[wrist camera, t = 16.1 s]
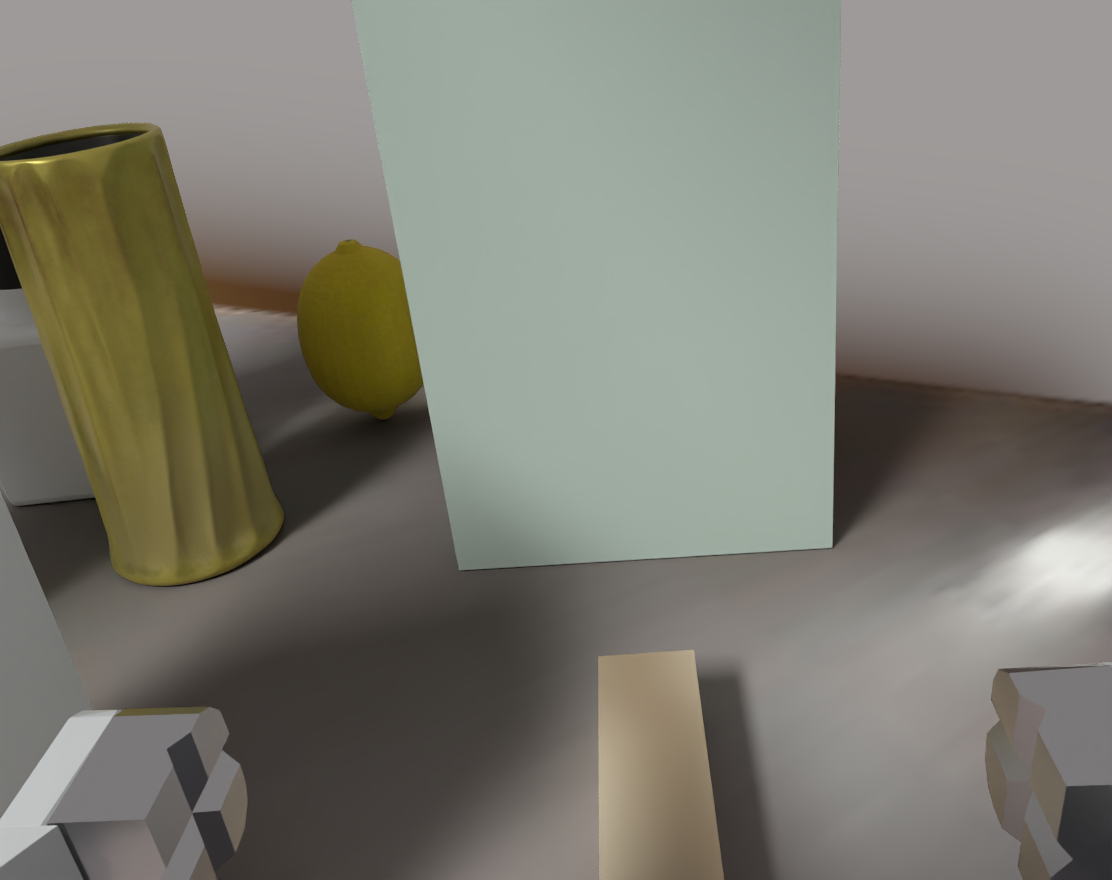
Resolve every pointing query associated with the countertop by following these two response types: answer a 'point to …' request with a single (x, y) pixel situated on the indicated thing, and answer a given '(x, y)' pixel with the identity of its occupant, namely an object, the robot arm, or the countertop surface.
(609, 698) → the birch bar
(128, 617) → the countertop surface
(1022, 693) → the robot arm
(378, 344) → the lemon
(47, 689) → the supplement box
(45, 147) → the vase
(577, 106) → the pedestal
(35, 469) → the medicine bottle
